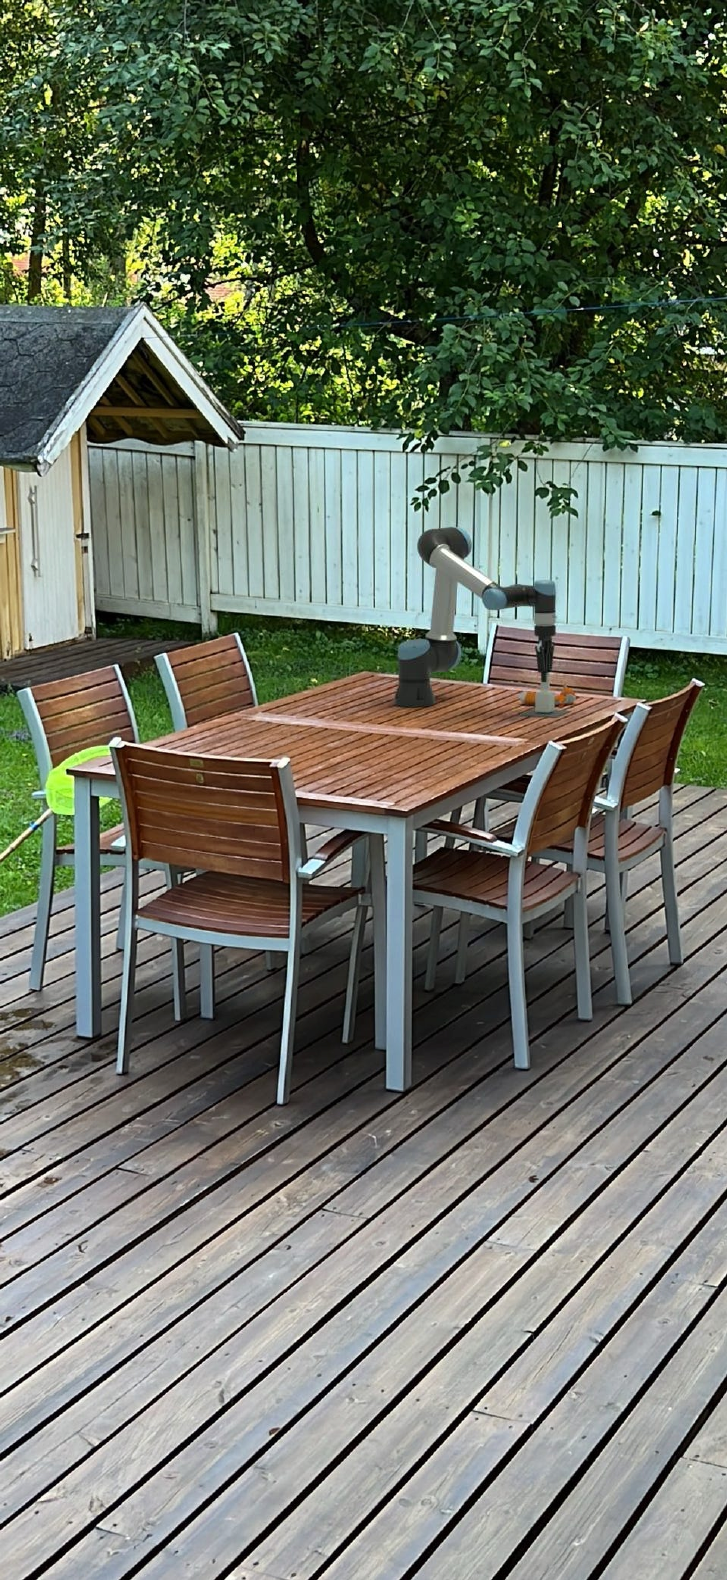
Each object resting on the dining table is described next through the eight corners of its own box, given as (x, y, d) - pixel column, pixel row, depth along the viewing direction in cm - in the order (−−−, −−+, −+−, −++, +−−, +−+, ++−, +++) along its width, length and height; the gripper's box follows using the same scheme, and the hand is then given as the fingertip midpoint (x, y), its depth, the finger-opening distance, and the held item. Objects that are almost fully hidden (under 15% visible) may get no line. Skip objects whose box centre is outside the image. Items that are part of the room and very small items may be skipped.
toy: (574, 695, 646) (578, 681, 660) (513, 695, 651) (518, 681, 664) (575, 716, 649) (579, 702, 663) (514, 715, 654) (519, 701, 667)
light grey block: (535, 711, 637) (535, 693, 636) (541, 709, 642) (541, 690, 641) (548, 712, 635) (548, 693, 634) (554, 710, 640) (554, 691, 638)
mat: (519, 715, 636) (519, 714, 636) (534, 709, 648) (534, 708, 648) (555, 717, 629) (555, 717, 629) (570, 711, 641) (570, 710, 641)
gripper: (547, 627, 625) (547, 694, 630) (561, 622, 636) (561, 688, 641) (527, 626, 628) (528, 692, 633) (542, 621, 639) (542, 687, 644)
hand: (545, 690), depth 637 cm, fingers closed
